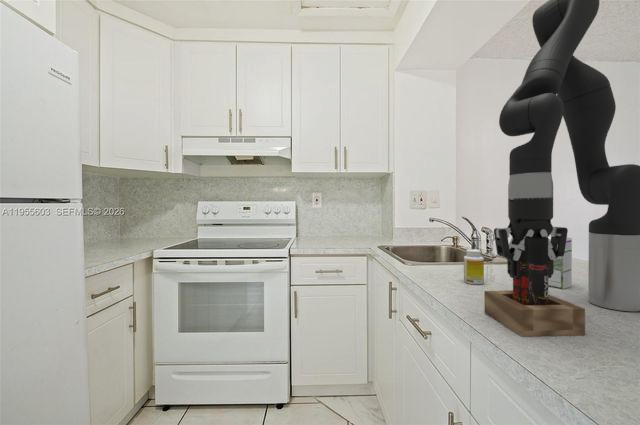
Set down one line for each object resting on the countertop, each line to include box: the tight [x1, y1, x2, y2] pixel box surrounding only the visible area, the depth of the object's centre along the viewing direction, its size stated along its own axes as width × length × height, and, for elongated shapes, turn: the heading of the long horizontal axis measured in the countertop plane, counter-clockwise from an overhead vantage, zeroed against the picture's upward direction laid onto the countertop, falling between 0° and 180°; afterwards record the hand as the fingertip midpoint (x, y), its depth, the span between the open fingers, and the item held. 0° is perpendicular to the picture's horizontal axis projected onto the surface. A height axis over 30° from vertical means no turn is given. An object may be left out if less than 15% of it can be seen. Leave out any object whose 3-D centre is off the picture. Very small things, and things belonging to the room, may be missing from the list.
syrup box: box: [548, 235, 573, 290], centre depth 86 cm, size 6×6×14 cm
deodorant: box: [512, 237, 549, 305], centre depth 60 cm, size 6×6×15 cm
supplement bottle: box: [463, 249, 485, 285], centre depth 91 cm, size 6×6×10 cm
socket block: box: [483, 289, 586, 337], centre depth 60 cm, size 12×12×5 cm
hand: (530, 277), depth 60 cm, fingers closed on deodorant, 6 cm apart
